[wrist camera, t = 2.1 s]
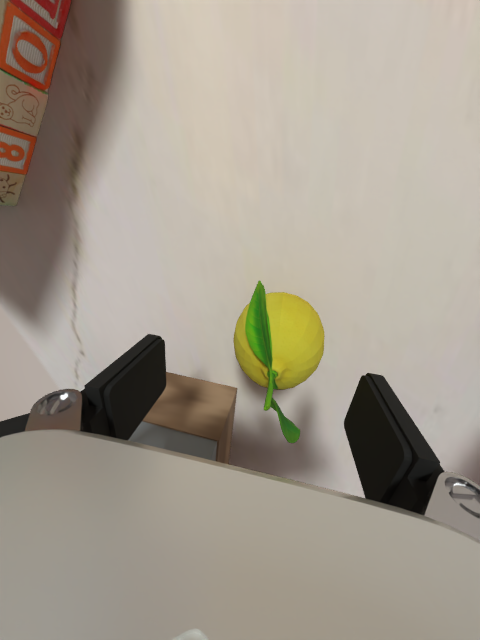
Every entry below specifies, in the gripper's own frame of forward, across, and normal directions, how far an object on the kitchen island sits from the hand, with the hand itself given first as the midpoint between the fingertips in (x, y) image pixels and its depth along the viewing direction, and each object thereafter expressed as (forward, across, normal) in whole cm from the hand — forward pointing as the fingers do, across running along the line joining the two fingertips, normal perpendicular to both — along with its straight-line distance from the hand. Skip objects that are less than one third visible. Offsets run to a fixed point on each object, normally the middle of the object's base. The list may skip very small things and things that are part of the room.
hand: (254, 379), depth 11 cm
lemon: (+8, -1, 0) cm, 8 cm away
